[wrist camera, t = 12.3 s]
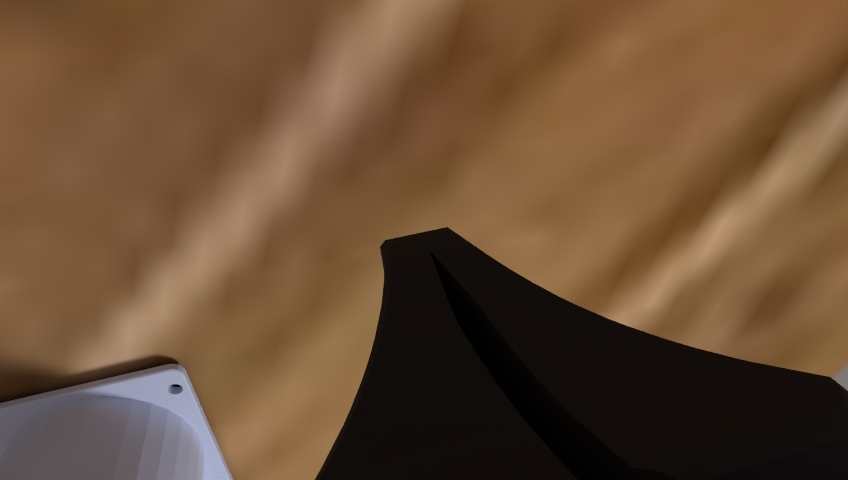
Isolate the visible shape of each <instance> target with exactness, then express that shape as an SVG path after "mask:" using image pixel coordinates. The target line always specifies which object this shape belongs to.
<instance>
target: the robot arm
mask: <svg viewBox="0 0 848 480" xmlns="http://www.w3.org/2000/svg"><path fill="white" fill-rule="evenodd" d="M380 249H381V255H382V261H383V268H384V288H383V297H382V306H381V311H380V316H379V321H378V326H377V331H376V335H375V340H374V343H373V347H372V351H371V354H370V358H369V361H368V364H367V367H366V370H365V373H364V376H363V379H362V382H361V384H360V387H359V389H358V392H357V394H356V397H355V399H354V402H353V405H352V407H351V409H350V412H349V414H348V416H347V419H346V421H345V423H344V425H343V427H342V429H341V431H340V433H339V435H338V437H337V439H336V441H335V443H334V445H333V447H332V449H331V451H330V452H329V454H328V456H327V458H326V460H325V462H324V464H323V466H322V468H321V470H320V472H319V473H318V475H317V477H316V479H315V480H848V391H847V390H846V389H845V388H843V387H842V386H841V385H840V384H838V383H837V382H836V381H835V380H833V379H832V378H831V377H827V376H821V375H816V374H811V373H806V372H801V371H796V370H790V369H785V368H780V367H775V366H770V365H764V364H759V363H754V362H749V361H745V360H740V359H736V358H732V357H728V356H724V355H721V354H717V353H713V352H709V351H705V350H701V349H697V348H694V347H690V346H687V345H683V344H680V343H676V342H673V341H670V340H666V339H663V338H660V337H657V336H655V335H652V334H649V333H646V332H643V331H640V330H637V329H634V328H631V327H628V326H626V325H623V324H620V323H618V322H615V321H612V320H610V319H607V318H605V317H603V316H600V315H598V314H596V313H593V312H591V311H589V310H587V309H584V308H582V307H580V306H577V305H575V304H573V303H571V302H569V301H567V300H565V299H563V298H561V297H559V296H557V295H555V294H553V293H551V292H549V291H547V290H545V289H544V288H542V287H540V286H538V285H536V284H534V283H532V282H531V281H529V280H527V279H525V278H524V277H522V276H520V275H519V274H517V273H515V272H514V271H512V270H510V269H509V268H507V267H506V266H504V265H502V264H501V263H499V262H498V261H496V260H495V259H493V258H492V257H490V256H488V255H487V254H485V253H484V252H483V251H481V250H480V249H478V248H477V247H475V246H474V245H472V244H471V243H469V242H468V241H467V240H465V239H464V238H462V237H461V236H459V235H458V234H457V233H455V232H454V231H452V230H451V229H449V228H448V227H446V228H441V229H437V230H432V231H427V232H422V233H418V234H413V235H408V236H403V237H399V238H394V239H389V240H385V241H384V243H383V244H382V245H381V246H380ZM173 384H178V385H181V386H180V387H173V386H171V385H173ZM0 480H233V478H232V476H231V473H230V471H229V469H228V467H227V464H226V462H225V460H224V457H223V455H222V453H221V450H220V448H219V446H218V444H217V441H216V439H215V437H214V434H213V432H212V430H211V427H210V425H209V423H208V421H207V418H206V416H205V414H204V411H203V409H202V407H201V405H200V402H199V400H198V398H197V395H196V393H195V391H194V388H193V386H192V384H191V382H190V379H189V377H188V375H187V372H186V370H185V369H184V368H183V367H182V366H180V365H178V364H166V365H162V366H158V367H153V368H149V369H145V370H141V371H136V372H132V373H128V374H123V375H119V376H115V377H110V378H106V379H102V380H97V381H93V382H89V383H84V384H80V385H76V386H72V387H67V388H63V389H59V390H54V391H50V392H46V393H41V394H37V395H33V396H28V397H24V398H20V399H16V400H11V401H7V402H3V403H0Z"/></svg>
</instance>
